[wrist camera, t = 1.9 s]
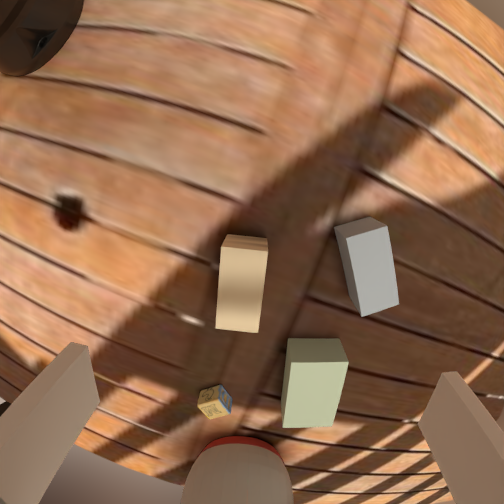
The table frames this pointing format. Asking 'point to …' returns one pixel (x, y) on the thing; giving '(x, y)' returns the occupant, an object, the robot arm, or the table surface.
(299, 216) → the table surface
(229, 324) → the maple brick
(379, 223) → the slate brick
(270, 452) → the citrus juicer
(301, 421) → the sage brick
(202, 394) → the alphabet block
